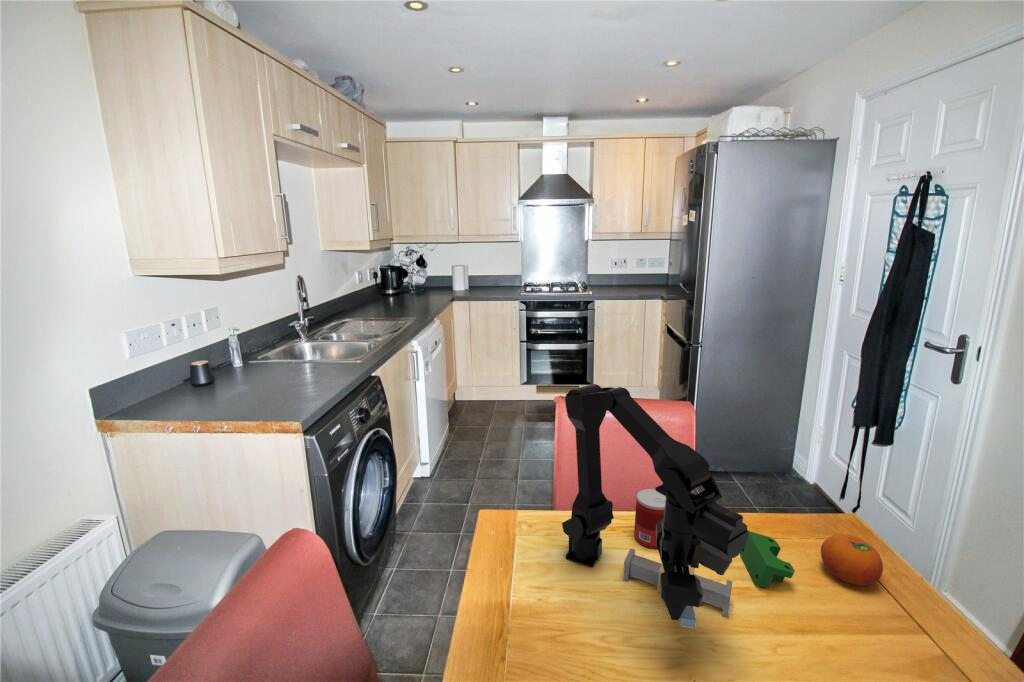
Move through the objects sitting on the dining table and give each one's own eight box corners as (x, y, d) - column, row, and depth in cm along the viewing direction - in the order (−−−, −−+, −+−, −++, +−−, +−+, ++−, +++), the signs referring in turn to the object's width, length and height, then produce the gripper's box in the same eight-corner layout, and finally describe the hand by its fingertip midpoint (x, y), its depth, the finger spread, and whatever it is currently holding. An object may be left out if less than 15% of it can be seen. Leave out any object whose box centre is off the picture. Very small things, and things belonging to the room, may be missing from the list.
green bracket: (775, 602, 97) (799, 583, 92) (747, 593, 98) (768, 573, 92) (764, 548, 107) (785, 528, 101) (738, 541, 107) (757, 520, 102)
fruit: (806, 564, 102) (811, 532, 100) (841, 554, 105) (847, 522, 103) (854, 600, 92) (861, 565, 90) (891, 587, 95) (899, 553, 93)
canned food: (673, 550, 107) (677, 507, 104) (638, 549, 107) (641, 507, 104) (663, 529, 114) (666, 488, 112) (630, 528, 114) (633, 488, 112)
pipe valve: (622, 580, 98) (624, 560, 96) (629, 566, 102) (630, 546, 101) (727, 618, 88) (730, 596, 87) (730, 600, 92) (732, 579, 91)
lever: (676, 627, 80) (677, 617, 79) (666, 560, 96) (667, 552, 95) (698, 631, 79) (699, 621, 79) (685, 563, 95) (686, 554, 94)
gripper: (743, 568, 70) (730, 653, 74) (720, 501, 88) (711, 572, 92) (665, 556, 73) (657, 638, 77) (659, 492, 91) (652, 562, 94)
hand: (672, 599), depth 85 cm, fingers open, 9 cm apart
